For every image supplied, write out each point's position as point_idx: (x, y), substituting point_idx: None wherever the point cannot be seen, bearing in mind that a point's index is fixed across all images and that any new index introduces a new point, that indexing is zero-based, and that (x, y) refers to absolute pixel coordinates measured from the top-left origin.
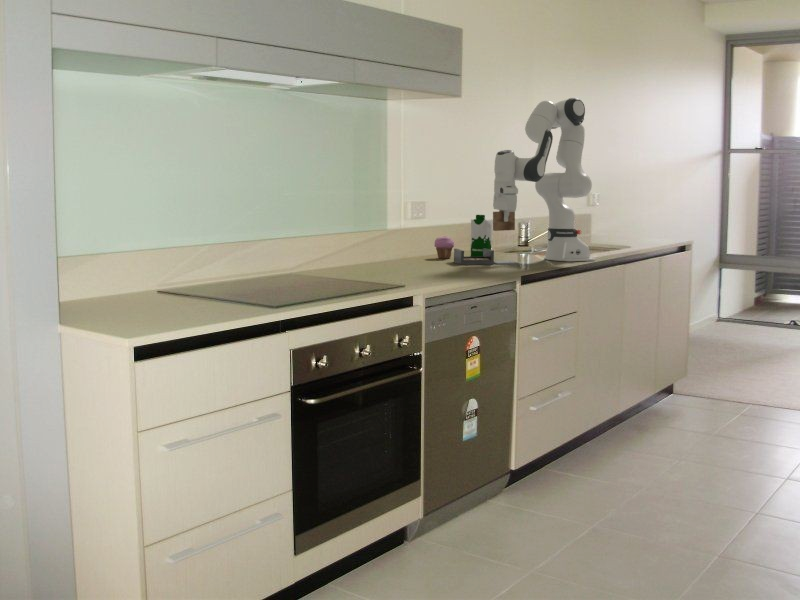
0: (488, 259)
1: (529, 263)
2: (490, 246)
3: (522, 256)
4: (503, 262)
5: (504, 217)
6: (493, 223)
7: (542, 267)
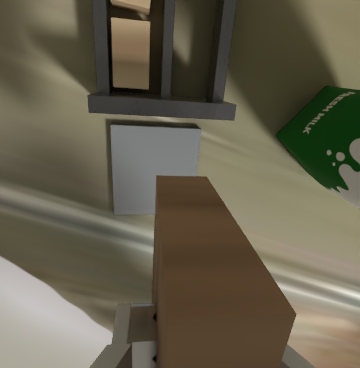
0: (113, 84)
1: (142, 252)
2: (321, 182)
3: (337, 287)
4: (133, 161)
5: (108, 347)
6: (206, 202)
7: (4, 254)
